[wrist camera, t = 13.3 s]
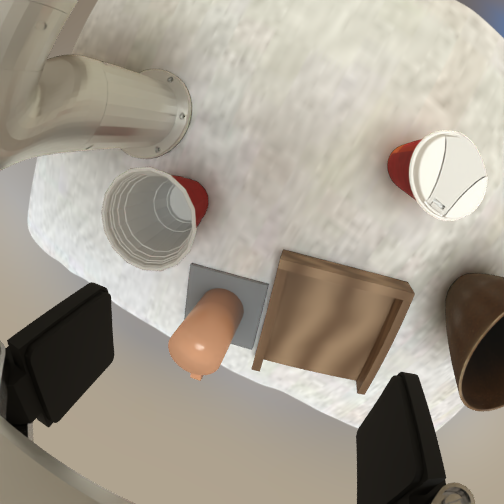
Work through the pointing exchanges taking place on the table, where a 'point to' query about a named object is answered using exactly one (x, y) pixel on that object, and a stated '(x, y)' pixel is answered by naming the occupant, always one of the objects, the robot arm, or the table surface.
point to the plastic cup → (152, 217)
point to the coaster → (242, 287)
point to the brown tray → (331, 318)
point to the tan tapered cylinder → (206, 332)
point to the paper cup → (441, 174)
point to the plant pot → (477, 339)
